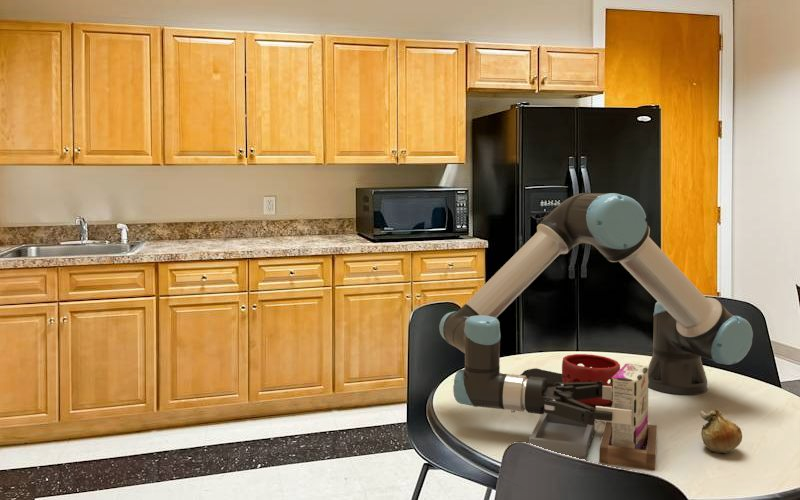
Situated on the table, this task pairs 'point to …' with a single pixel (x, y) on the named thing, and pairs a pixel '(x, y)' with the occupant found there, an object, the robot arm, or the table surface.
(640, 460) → the brown rectangular open box
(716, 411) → the onion
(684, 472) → the table surface
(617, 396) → the candy bar box
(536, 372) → the black sponge
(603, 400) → the plant pot
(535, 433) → the tray
